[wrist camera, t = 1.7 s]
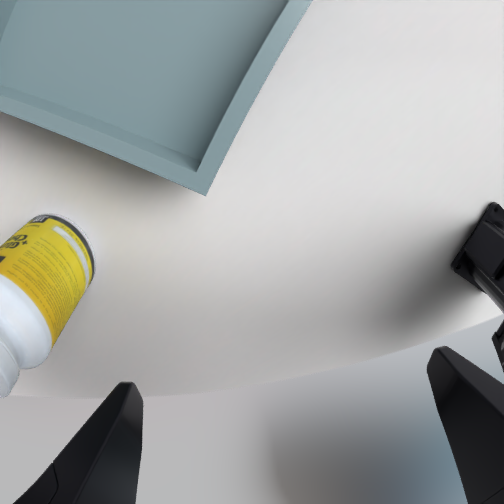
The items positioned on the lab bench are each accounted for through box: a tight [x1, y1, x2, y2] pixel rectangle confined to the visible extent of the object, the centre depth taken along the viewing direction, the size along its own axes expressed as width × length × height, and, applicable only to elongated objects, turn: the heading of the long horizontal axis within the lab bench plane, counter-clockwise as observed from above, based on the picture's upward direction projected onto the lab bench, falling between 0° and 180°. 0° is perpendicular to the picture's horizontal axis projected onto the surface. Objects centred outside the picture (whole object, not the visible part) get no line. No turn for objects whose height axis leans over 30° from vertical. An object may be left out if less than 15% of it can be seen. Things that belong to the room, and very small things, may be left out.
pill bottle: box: [0, 214, 95, 398], centre depth 15 cm, size 6×6×12 cm
